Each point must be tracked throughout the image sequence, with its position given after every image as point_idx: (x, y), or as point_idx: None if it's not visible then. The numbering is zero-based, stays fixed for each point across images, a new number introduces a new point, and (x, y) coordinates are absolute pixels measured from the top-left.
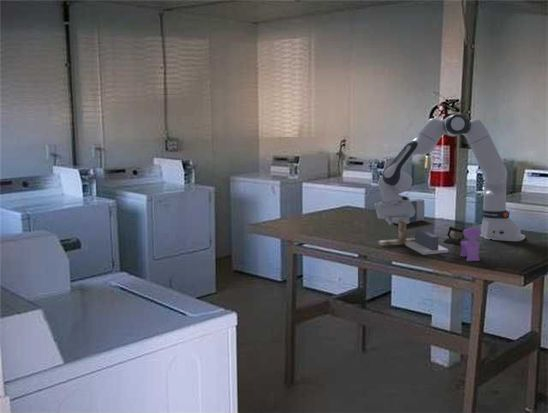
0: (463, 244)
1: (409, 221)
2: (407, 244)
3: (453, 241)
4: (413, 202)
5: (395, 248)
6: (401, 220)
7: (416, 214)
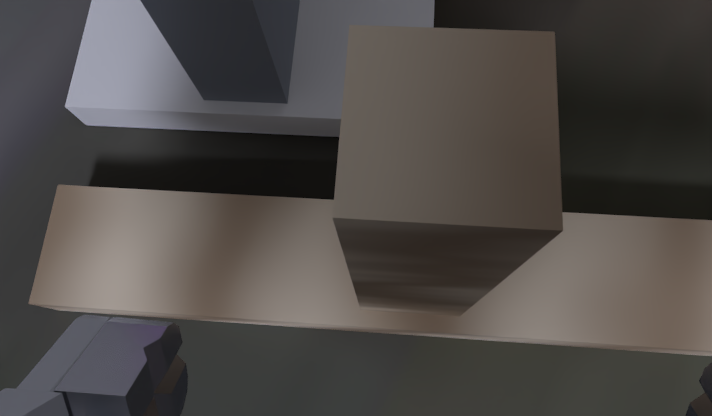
0: None
1: (87, 316)
2: None
3: None
4: None
5: (619, 43)
6: (460, 163)
7: None
